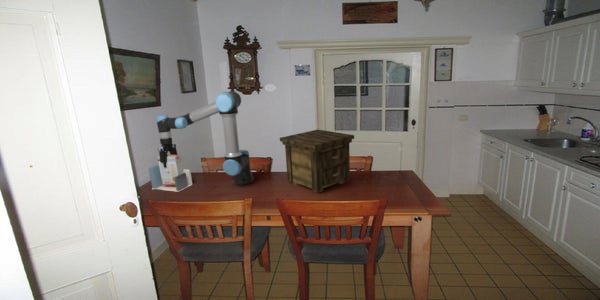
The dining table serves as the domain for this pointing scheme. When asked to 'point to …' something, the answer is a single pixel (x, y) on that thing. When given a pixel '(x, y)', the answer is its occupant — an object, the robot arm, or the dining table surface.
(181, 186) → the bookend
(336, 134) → the wooden drawer cabinet
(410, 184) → the dining table surface
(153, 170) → the book rack
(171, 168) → the cracker box
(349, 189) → the dining table surface
